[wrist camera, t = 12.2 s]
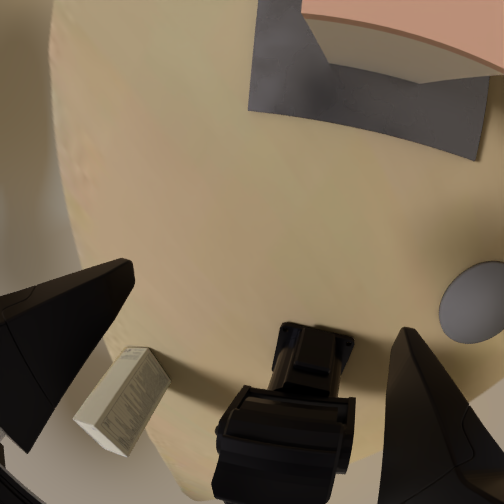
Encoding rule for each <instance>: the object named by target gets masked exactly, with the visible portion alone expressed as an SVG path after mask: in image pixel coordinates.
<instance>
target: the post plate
mask: <svg viewBox="0 0 504 504" xmlns="http://www.w3.org/2000/svg"><path fill="white" fill-rule="evenodd" d="M301 8H302V0H258V9H257V18H256V28H255V38H254V49H253V59H252V69H251V80H250V91H249V102H248V111H256V112H265V113H273V114H281V115H288V116H295V117H302V118H308V119H314V120H320V121H326V122H331V123H336V124H341V125H346V126H351V127H356V128H361V129H365V130H370V131H374V132H378V133H382V134H386V135H390V136H394V137H398V138H402V139H406V140H409V141H413V142H416V143H420V144H423V145H427V146H430V147H433V148H437V149H440V150H443V151H446V152H449V153H452V154H455V155H458V156H461V157H464V158H467V159H470V160H472V161H475V159H476V155H477V150H478V146H479V141H480V136H481V131H482V126H483V120H484V114H485V108H486V102H487V94H488V86H489V78H490V76H480V77H469V78H460V79H451V80H443V81H436V82H429V83H422V84H418V83H415V82H411V81H408V80H404V79H401V78H397V77H393V76H389V75H385V74H381V73H376V72H372V71H368V70H363V69H358V68H353V67H348V66H342V65H337V64H331V63H328V61H327V59H326V57H325V55H324V53H323V51H322V49H321V47H320V45H319V44H318V42H317V40H316V38H315V36H314V35H313V33H312V31H311V29H310V27H309V26H308V24H307V22H306V21H305V19H304V17H303V15H302V14H301Z"/></svg>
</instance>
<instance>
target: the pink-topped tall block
mask: <svg viewBox="0 0 504 504" xmlns="http://www.w3.org/2000/svg"><path fill="white" fill-rule="evenodd" d="M301 14H302V15H303V17H304V19H305V21H306V22H307V24H308V26H309V27H310V29H311V31H312V33H313V35H314V36H315V38H316V40H317V42H318V44H319V45H320V47H321V49H322V51H323V53H324V55H325V57H326V59H327V61H328V63H331V64H337V65H342V66H348V67H353V68H358V69H363V70H368V71H372V72H376V73H381V74H385V75H389V76H393V77H397V78H401V79H404V80H408V81H411V82H415V83H418V84H422V83H429V82H436V81H443V80H451V79H460V78H469V77H480V76H494V75H504V0H302V8H301Z"/></svg>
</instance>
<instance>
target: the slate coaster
mask: <svg viewBox="0 0 504 504" xmlns="http://www.w3.org/2000/svg"><path fill="white" fill-rule="evenodd" d="M439 319H440V324H441V327H442V329H443V331H444V333H445V334H446V335H447V336H448V337H449V338H451V339H452V340H454V341H456V342H459V343H465V344H473V343H479V342H482V341H485V340H488V339H490V338H492V337H494V336H495V335H497V334H498V333H500V332H501V331H502V330H503V329H504V263H502V262H498V261H488V262H483V263H479V264H476V265H474V266H472V267H470V268H468V269H467V270H465V271H464V272H462V273H461V274H460V275H459V276H458V277H457V278H456V279H454V281H453V282H452V283H451V284H450V285H449V287H448V288H447V290H446V291H445V293H444V295H443V297H442V300H441V303H440V307H439Z"/></svg>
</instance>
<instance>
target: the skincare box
mask: <svg viewBox="0 0 504 504" xmlns="http://www.w3.org/2000/svg"><path fill="white" fill-rule="evenodd" d="M170 383H171V380H170V379H169V377H168V376H167V374H166V373H165V371H164V370H163V369H162V367H161V366H160V364H159V363H158V361H157V360H156V358H155V357H154V355H153V354H152V353H151V351H150V350H149V348H133V347H128V348H124V349H123V351H122V352H121V353H120V355H119V356H118V357H117V359H116V360H115V361H114V363H113V364H112V365H111V367H110V368H109V370H108V371H107V372H106V373H105V375H104V376H103V377H102V379H101V380H100V381H99V383H98V384H97V386H96V387H95V388H94V390H93V391H92V392H91V394H90V395H89V396H88V398H87V399H86V401H85V402H84V403H83V405H82V406H81V408H80V409H79V411H78V412H77V413H76V415H75V416H74V418H73V420H74V421H75V422H76V423H77V424H78V425H79V426H80V427H81V428H82V429H83V430H84V431H85V432H86V433H87V434H89V435H90V436H91V437H92V438H93V439H94V440H95V441H96V442H97V443H98V444H99V445H100V446H102V447H103V448H104V449H106V450H108V451H111V452H114V453H116V454H119V455H122V456H125V457H129V455H130V453H131V451H132V449H133V448H134V446H135V444H136V442H137V441H138V439H139V437H140V435H141V434H142V432H143V430H144V429H145V427H146V425H147V423H148V421H149V420H150V418H151V416H152V414H153V413H154V411H155V409H156V407H157V406H158V404H159V402H160V400H161V399H162V397H163V395H164V393H165V392H166V390H167V388H168V386H169V385H170Z"/></svg>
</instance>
